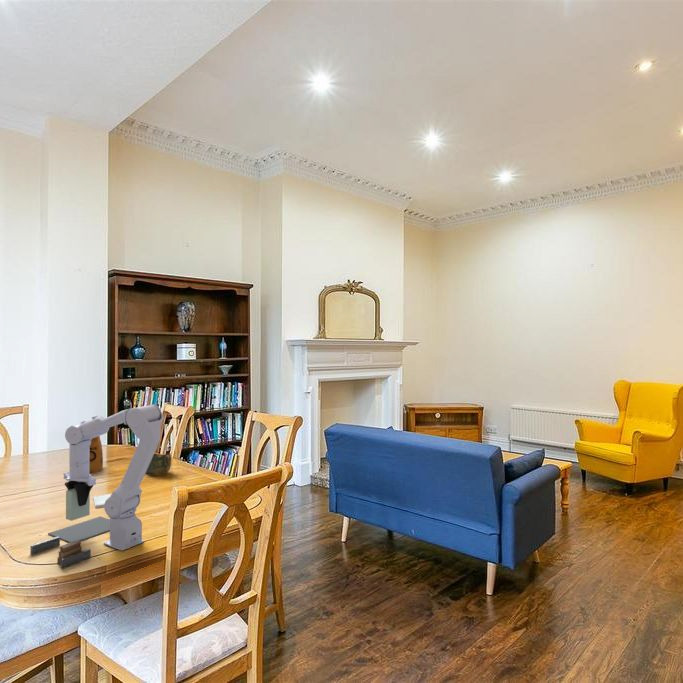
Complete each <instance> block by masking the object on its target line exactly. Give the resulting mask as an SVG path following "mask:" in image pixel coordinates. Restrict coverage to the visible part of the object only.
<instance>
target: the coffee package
mask: <svg viewBox="0 0 683 683" xmlns="http://www.w3.org/2000/svg"><path fill="white" fill-rule="evenodd" d="M100 436H101V435H100ZM100 436H97V437H95V438H92V440H91V445H90V457H89V473H96V472H97V473H98V472H101V470H102V469H103V466H104V456H103V455H104V453H103V447H102V446H103V445H102V441H101V437H100Z"/></svg>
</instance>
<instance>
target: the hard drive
mask: <svg viewBox="0 0 683 683" xmlns="http://www.w3.org/2000/svg"><path fill="white" fill-rule="evenodd" d="M111 494H112V493H108V494H101V495H95V496H92V500H93V505H94V508H95V509H100V508H101V509H102V508H104V504H105V501H106V500H107V499H108V498H109V497H110V496H111Z"/></svg>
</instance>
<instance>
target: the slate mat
mask: <svg viewBox="0 0 683 683" xmlns="http://www.w3.org/2000/svg"><path fill="white" fill-rule="evenodd" d="M108 532H110V518H106V517H103V516H97V517H94V518H91V519H88V520H86V521H82V522H78V523H74V524H73V525H70V526H69V525H68V526H66V527H63V528H59V529H57V530H53V531H51V532H47V533H48V534H47V535H49V536H52V538H55V537H60V541H64V542H66V543H67V544H68V543H71V542H74V541H79V542H82V541H85V540H88V539H91V538H94V537H97V536H99V535H102V534H105V533H108Z"/></svg>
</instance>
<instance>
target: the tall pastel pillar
mask: <svg viewBox="0 0 683 683" xmlns="http://www.w3.org/2000/svg"><path fill="white" fill-rule="evenodd" d="M90 494H91V492H90V493H89V496H88V499H87V503H86V505H83V506H79V504H78V497H77V492H76V489H75V488H74V489H70V490H68V489H67V490H65V519H66V520H68V521H74V520H75V521H76V520H78V519H82V518H85V517H88V516H90V512H91V511H90V501H91V500H90V499H91V498H90Z"/></svg>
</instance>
